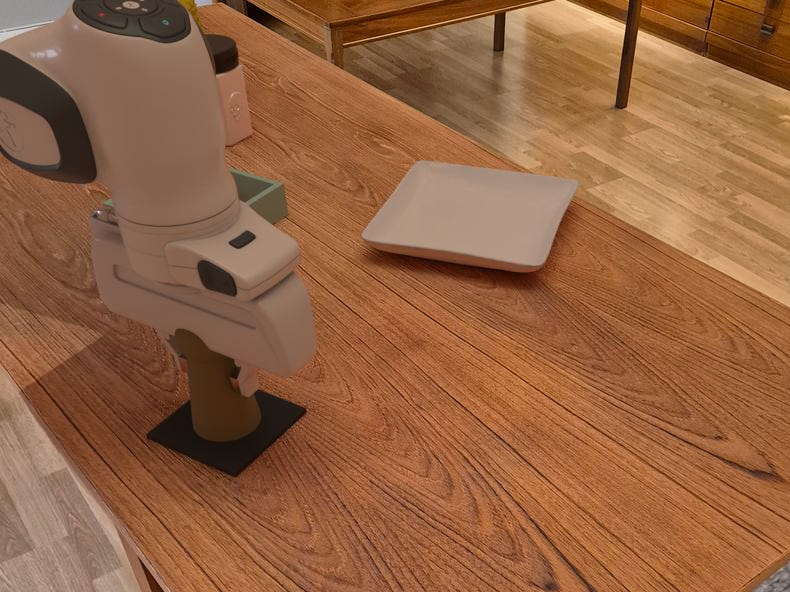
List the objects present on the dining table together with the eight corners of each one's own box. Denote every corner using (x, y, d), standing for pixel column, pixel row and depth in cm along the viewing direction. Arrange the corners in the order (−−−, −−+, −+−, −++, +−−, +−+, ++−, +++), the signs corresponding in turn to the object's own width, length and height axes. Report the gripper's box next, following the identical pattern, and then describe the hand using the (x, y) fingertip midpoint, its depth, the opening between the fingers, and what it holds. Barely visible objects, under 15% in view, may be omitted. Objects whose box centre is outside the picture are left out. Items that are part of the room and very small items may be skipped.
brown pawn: (274, 420, 80) (255, 316, 72) (217, 451, 77) (191, 346, 69) (236, 390, 83) (214, 287, 75) (179, 419, 80) (150, 315, 72)
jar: (221, 153, 120) (203, 60, 112) (176, 139, 123) (156, 47, 115) (264, 130, 126) (251, 40, 118) (221, 117, 129) (205, 28, 120)
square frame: (111, 234, 104) (101, 202, 101) (196, 185, 113) (189, 155, 111) (207, 268, 99) (200, 235, 96) (288, 214, 108) (284, 183, 106)
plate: (358, 262, 101) (356, 235, 98) (418, 181, 115) (417, 155, 113) (541, 293, 97) (543, 265, 94) (578, 204, 112) (581, 178, 109)
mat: (146, 438, 79) (145, 434, 78) (222, 378, 85) (221, 374, 85) (235, 477, 75) (234, 473, 75) (306, 412, 82) (306, 407, 81)
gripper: (52, 216, 68) (102, 362, 78) (263, 289, 61) (290, 439, 71) (113, 184, 72) (154, 327, 82) (318, 249, 65) (336, 396, 75)
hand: (218, 380), depth 76 cm, fingers open, 5 cm apart
